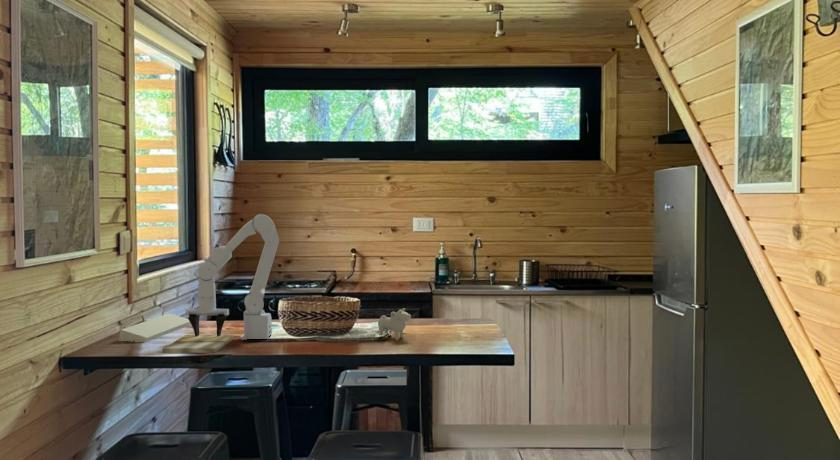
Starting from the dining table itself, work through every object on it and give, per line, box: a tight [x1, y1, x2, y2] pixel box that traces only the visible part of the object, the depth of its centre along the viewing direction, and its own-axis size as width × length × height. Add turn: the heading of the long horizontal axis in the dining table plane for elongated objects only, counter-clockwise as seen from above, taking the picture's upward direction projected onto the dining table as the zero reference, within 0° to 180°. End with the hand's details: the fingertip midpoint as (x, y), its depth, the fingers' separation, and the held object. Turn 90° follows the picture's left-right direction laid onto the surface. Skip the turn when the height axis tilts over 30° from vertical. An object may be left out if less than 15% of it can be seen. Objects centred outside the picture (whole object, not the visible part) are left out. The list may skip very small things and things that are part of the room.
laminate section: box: [162, 341, 226, 354], centre depth 224 cm, size 17×10×2 cm, turn 89°
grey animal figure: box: [377, 307, 412, 341], centre depth 241 cm, size 5×13×11 cm, turn 60°
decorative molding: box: [117, 312, 192, 343], centre depth 253 cm, size 34×5×10 cm
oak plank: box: [174, 334, 235, 346], centre depth 234 cm, size 17×10×2 cm, turn 89°
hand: (208, 335), depth 238 cm, fingers open, 7 cm apart
